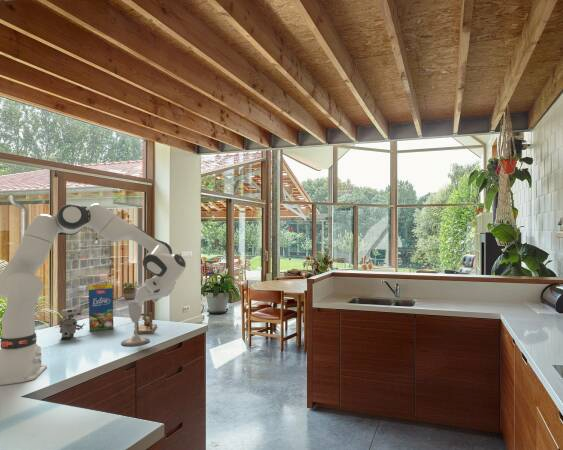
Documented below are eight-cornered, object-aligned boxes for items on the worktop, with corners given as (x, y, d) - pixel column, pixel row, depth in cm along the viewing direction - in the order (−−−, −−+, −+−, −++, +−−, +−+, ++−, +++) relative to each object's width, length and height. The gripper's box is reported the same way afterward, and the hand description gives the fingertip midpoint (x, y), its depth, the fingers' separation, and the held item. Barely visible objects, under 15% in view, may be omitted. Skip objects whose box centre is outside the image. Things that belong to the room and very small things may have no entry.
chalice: (138, 342, 204) (137, 304, 204) (125, 342, 206) (124, 304, 206) (146, 338, 211) (145, 302, 211) (133, 338, 213) (132, 301, 213)
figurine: (82, 338, 219) (82, 309, 219) (57, 340, 216) (57, 310, 216) (85, 334, 228) (85, 306, 228) (61, 336, 225) (61, 307, 225)
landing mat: (151, 344, 205) (150, 342, 205) (121, 347, 200) (121, 345, 200) (148, 337, 217) (148, 336, 217) (120, 341, 212) (120, 339, 212)
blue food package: (89, 329, 239) (88, 284, 239) (112, 326, 245) (111, 282, 245) (89, 331, 234) (88, 285, 234) (113, 328, 239) (112, 283, 239)
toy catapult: (140, 327, 241) (139, 309, 241) (156, 326, 242) (156, 308, 242) (134, 334, 225) (133, 315, 225) (151, 333, 226) (151, 314, 226)
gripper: (173, 276, 211) (158, 295, 215) (142, 281, 193) (127, 301, 197) (180, 285, 209) (165, 304, 213) (150, 291, 191) (134, 312, 195)
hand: (146, 303), depth 205 cm, fingers open, 8 cm apart
